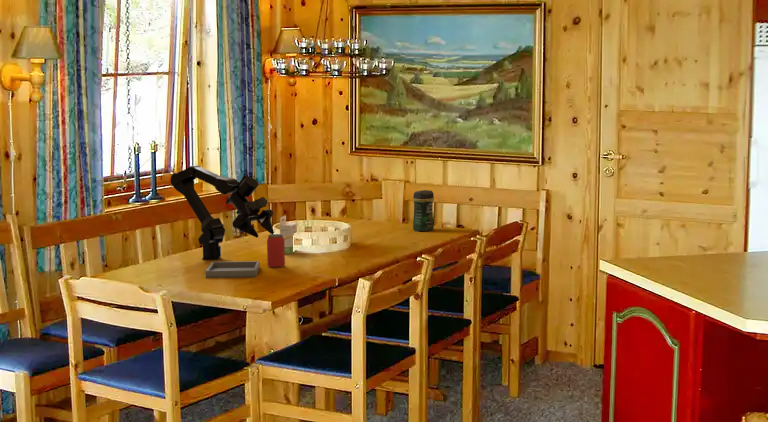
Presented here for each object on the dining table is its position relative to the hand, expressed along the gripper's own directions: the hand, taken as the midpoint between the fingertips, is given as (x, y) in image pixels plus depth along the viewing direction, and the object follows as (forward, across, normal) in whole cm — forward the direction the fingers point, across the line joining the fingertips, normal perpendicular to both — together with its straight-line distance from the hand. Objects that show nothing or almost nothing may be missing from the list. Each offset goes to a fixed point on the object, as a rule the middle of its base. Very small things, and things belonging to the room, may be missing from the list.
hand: (265, 235), depth 397 cm
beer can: (+12, 0, +5) cm, 13 cm away
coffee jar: (+14, +104, +3) cm, 105 cm away
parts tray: (+7, -18, +9) cm, 21 cm away
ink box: (+1, +27, +16) cm, 31 cm away
